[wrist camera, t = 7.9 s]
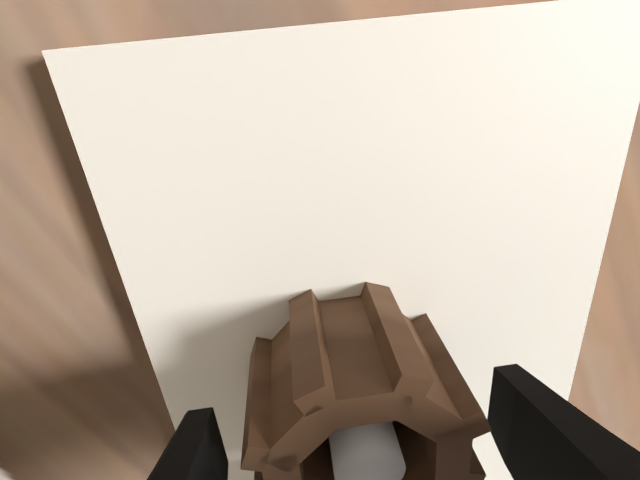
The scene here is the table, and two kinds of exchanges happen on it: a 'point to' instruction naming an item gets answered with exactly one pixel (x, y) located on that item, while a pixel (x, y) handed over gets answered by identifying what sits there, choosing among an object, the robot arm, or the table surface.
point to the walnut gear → (357, 390)
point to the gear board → (360, 189)
